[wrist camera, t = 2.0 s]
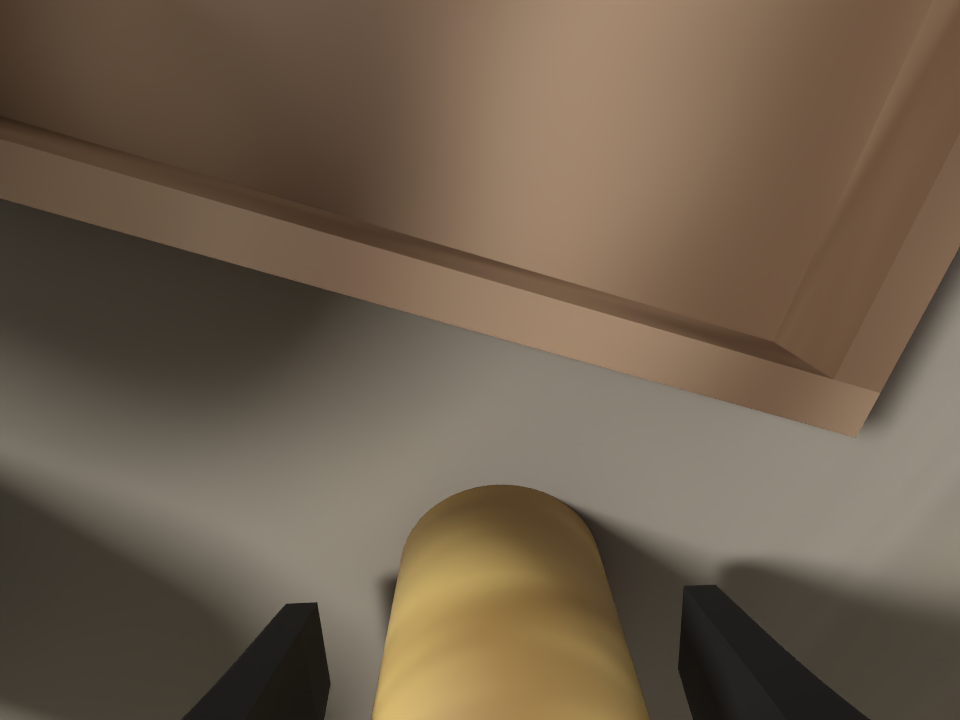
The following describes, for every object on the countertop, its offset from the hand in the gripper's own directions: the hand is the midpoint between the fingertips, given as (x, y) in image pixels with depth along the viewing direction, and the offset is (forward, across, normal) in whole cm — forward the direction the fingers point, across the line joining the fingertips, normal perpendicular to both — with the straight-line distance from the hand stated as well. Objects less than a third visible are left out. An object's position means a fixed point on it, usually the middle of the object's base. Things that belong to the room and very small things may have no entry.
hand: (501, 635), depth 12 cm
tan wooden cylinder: (+2, 0, 0) cm, 2 cm away
